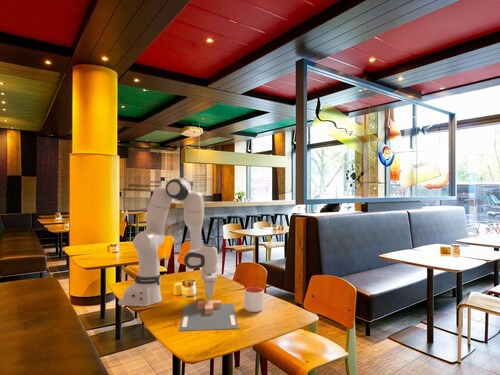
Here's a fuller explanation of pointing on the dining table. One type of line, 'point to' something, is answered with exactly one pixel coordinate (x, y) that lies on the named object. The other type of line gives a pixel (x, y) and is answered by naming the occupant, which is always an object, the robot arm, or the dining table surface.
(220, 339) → the dining table surface
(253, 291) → the cup
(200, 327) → the mat
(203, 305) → the t block
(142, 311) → the dining table surface
